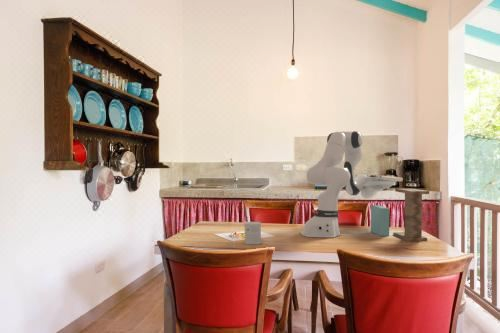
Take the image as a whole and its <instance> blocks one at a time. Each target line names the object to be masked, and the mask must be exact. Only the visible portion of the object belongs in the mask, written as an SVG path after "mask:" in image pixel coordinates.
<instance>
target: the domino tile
mask: <svg viewBox="0 0 500 333" xmlns="http://www.w3.org/2000/svg"><path fill="white" fill-rule="evenodd" d="M379 179H382V180H390V181H396V182H403V180H404V179H403V177H399V176H390V175H389V176H386V175H381V178H379Z"/></svg>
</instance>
